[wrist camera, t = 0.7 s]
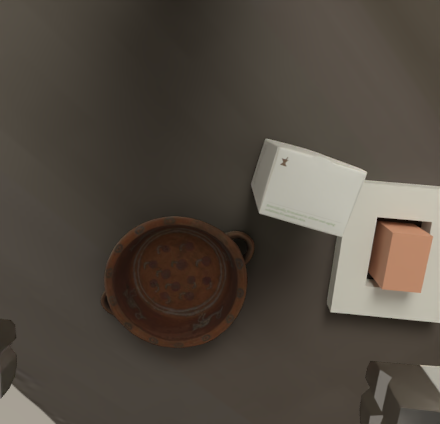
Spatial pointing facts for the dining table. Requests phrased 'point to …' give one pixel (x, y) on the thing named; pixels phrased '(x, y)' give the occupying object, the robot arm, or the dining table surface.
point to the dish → (176, 281)
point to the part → (400, 256)
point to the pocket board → (362, 245)
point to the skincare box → (305, 187)
